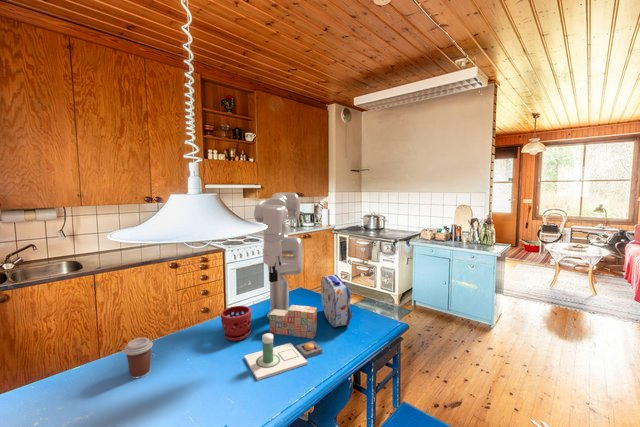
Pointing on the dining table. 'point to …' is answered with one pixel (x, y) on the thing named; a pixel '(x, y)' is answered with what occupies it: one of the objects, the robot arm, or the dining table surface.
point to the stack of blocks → (294, 321)
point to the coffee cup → (138, 356)
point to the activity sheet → (275, 361)
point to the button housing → (309, 353)
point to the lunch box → (335, 300)
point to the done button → (308, 347)
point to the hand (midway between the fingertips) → (273, 281)
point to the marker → (267, 347)
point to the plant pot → (236, 322)
